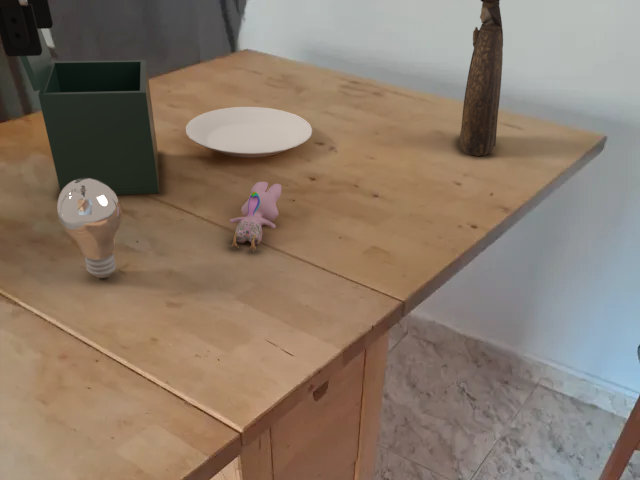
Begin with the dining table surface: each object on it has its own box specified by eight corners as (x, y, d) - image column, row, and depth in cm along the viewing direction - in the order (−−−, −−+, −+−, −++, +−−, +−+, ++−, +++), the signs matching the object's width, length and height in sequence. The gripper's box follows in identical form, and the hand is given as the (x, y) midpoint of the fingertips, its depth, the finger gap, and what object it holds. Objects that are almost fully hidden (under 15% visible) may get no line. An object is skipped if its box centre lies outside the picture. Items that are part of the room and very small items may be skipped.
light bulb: (63, 274, 83) (39, 176, 74) (115, 256, 86) (98, 161, 78) (90, 299, 79) (67, 199, 71) (143, 280, 82) (128, 183, 74)
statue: (443, 140, 119) (470, -31, 102) (479, 134, 121) (511, -33, 104) (472, 158, 113) (505, -19, 96) (509, 152, 116) (547, -22, 99)
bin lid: (5, -65, 88) (-31, -58, 88) (-14, -44, 78) (-55, -36, 78) (51, 57, 98) (19, 63, 98) (40, 90, 88) (4, 97, 88)
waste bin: (157, 153, 110) (146, 59, 101) (159, 193, 100) (145, 92, 90) (70, 157, 108) (49, 61, 99) (61, 197, 98) (37, 94, 88)
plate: (228, 177, 104) (227, 163, 103) (165, 133, 116) (163, 119, 115) (336, 150, 114) (337, 136, 112) (267, 112, 126) (267, 99, 124)
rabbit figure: (267, 262, 89) (293, 196, 98) (265, 223, 84) (292, 158, 93) (221, 256, 90) (251, 191, 99) (216, 217, 85) (248, 153, 94)
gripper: (-54, -202, 60) (3, 20, 72) (-106, -199, 48) (-26, 68, 59) (35, -200, 61) (78, 18, 73) (7, -197, 49) (63, 65, 60)
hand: (31, 40), depth 66 cm, fingers open, 9 cm apart
